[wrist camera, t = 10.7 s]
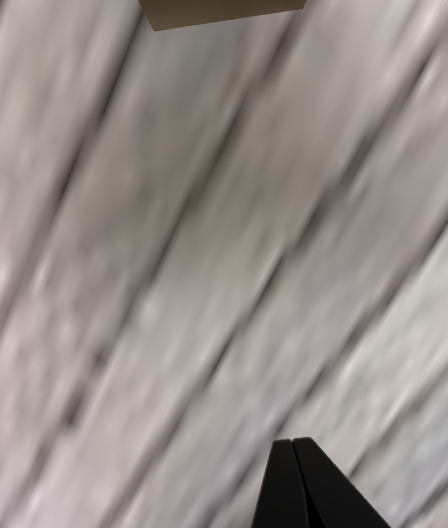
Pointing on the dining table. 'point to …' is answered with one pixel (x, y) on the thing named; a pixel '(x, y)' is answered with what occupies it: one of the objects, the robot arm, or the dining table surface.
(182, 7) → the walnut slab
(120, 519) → the dining table surface
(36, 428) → the dining table surface
